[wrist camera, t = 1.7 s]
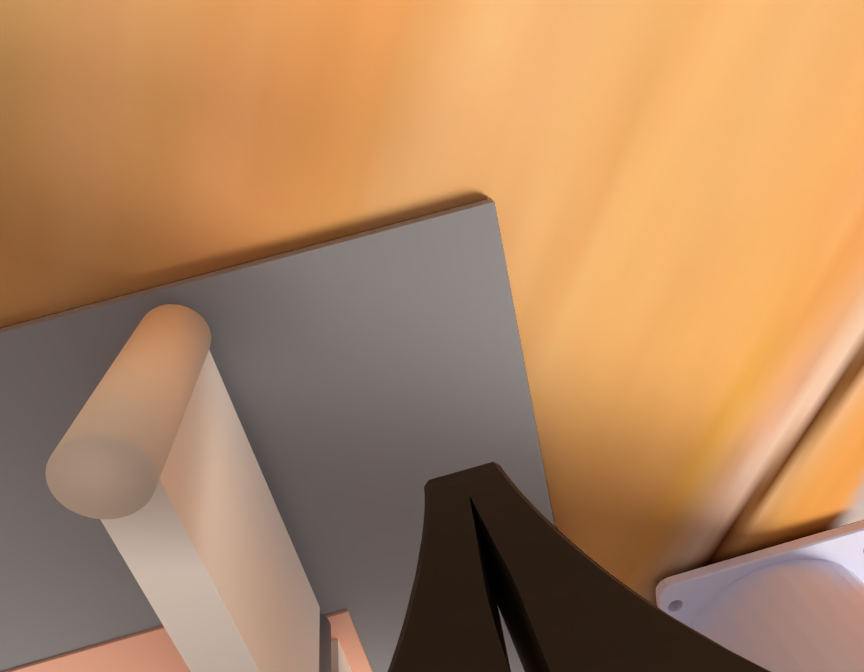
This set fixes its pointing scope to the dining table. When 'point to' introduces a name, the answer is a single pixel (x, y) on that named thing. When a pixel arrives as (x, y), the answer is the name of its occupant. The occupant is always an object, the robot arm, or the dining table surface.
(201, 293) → the card
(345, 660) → the fixed fence section
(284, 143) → the dining table surface
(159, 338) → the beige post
